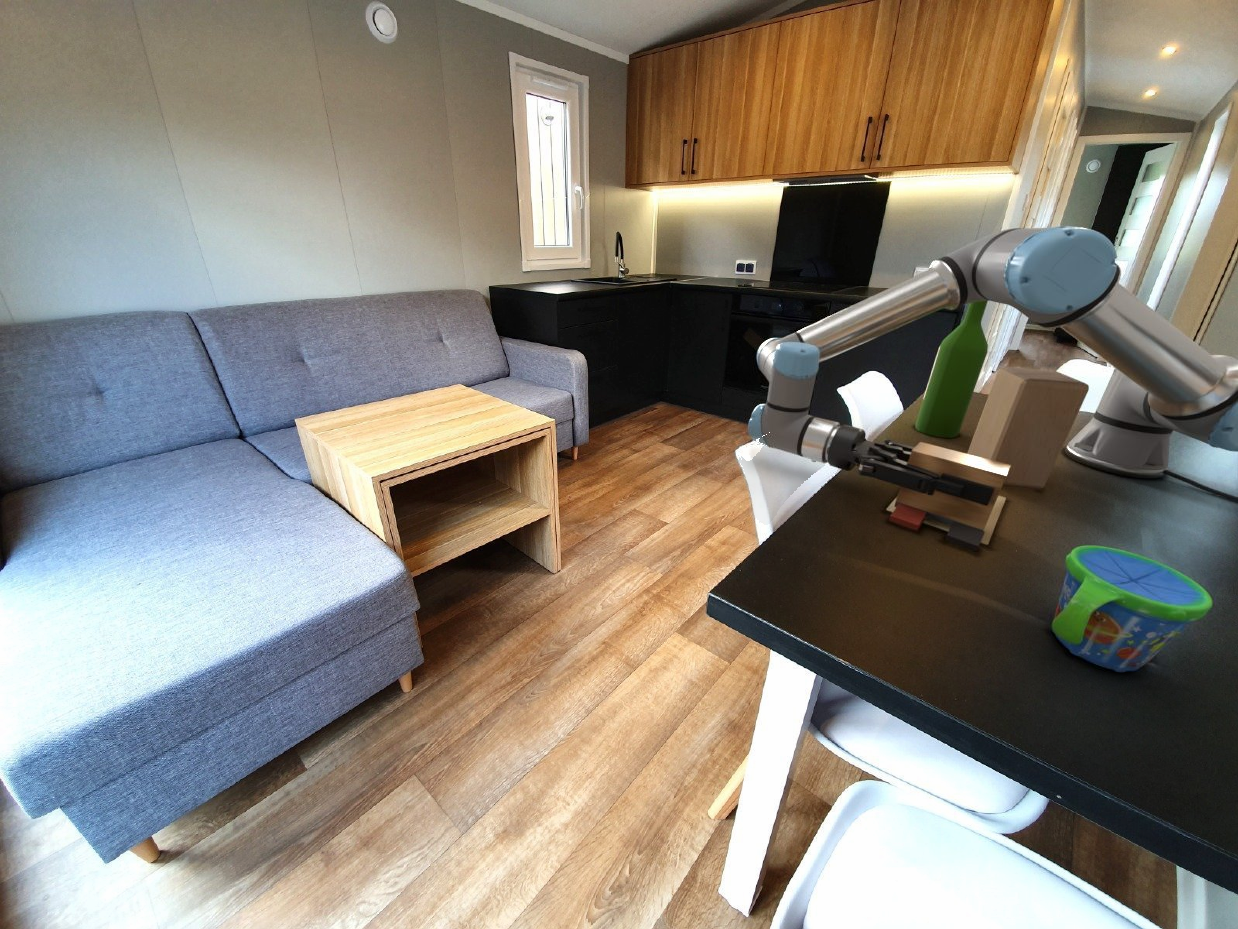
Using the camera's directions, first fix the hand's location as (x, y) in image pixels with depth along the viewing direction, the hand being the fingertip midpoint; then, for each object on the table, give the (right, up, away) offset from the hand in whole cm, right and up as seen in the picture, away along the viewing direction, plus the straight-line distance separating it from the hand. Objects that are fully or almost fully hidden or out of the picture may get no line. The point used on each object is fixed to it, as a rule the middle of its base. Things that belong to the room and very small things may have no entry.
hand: (993, 490), depth 71 cm
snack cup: (-2, -17, -17) cm, 24 cm away
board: (+1, -3, +11) cm, 11 cm away
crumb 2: (-4, -8, +1) cm, 9 cm away
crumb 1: (-10, -5, +5) cm, 12 cm away
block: (+18, +1, +22) cm, 29 cm away
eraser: (-4, -4, +6) cm, 8 cm away
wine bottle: (+20, +12, +44) cm, 50 cm away
